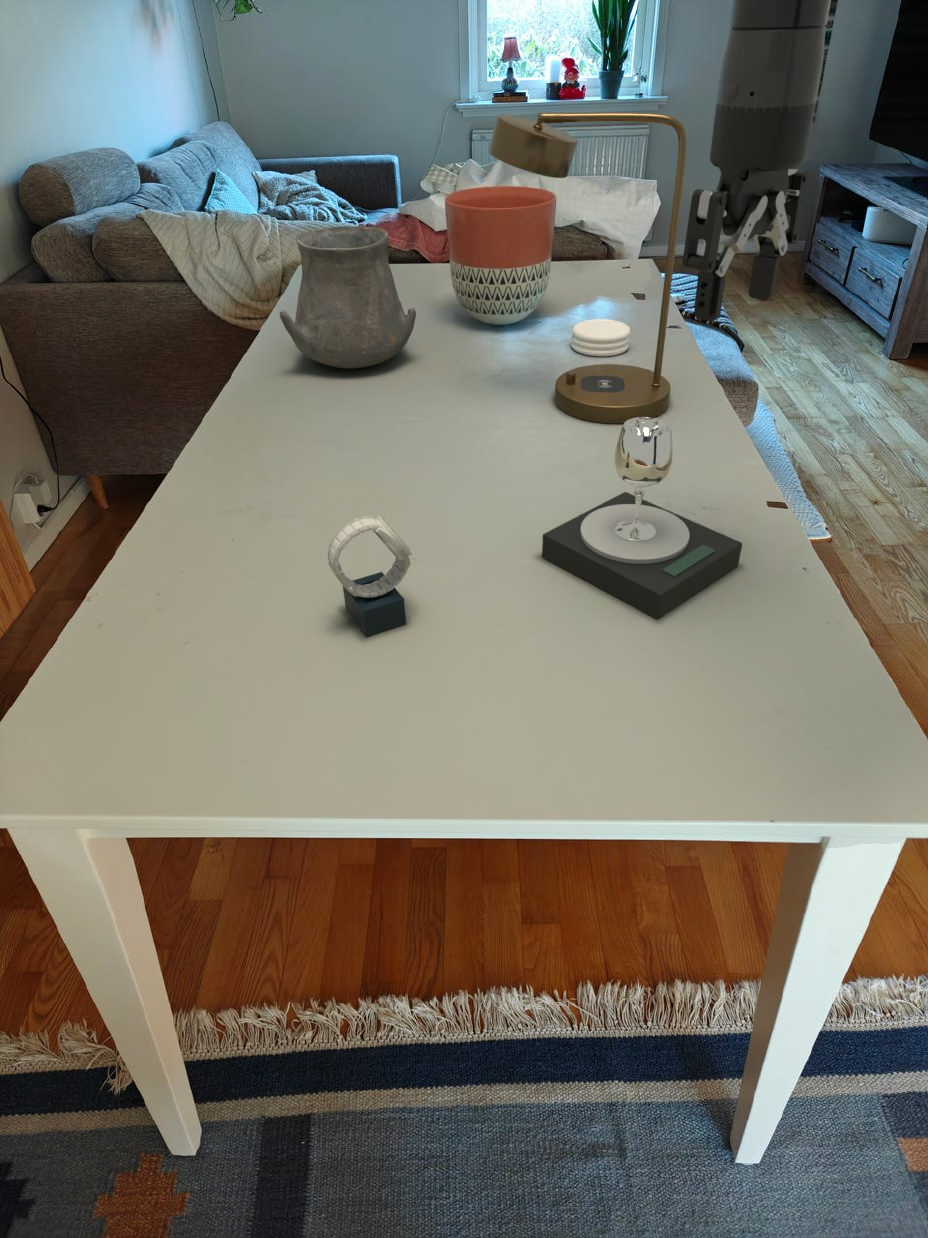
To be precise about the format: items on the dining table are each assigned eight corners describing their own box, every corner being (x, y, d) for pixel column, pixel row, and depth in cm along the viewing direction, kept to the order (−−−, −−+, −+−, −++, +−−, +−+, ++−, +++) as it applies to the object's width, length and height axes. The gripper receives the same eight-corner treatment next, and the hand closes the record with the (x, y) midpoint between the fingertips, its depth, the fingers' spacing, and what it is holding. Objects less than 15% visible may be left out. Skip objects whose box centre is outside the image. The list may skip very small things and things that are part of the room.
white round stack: (614, 361, 143) (616, 340, 140) (561, 351, 147) (562, 331, 145) (637, 343, 149) (639, 323, 147) (586, 334, 154) (587, 314, 152)
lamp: (495, 377, 138) (494, 105, 115) (664, 380, 135) (698, 102, 112) (484, 420, 124) (481, 121, 102) (672, 425, 121) (712, 119, 99)
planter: (428, 319, 163) (422, 196, 150) (506, 299, 172) (507, 181, 159) (492, 345, 150) (492, 213, 137) (573, 322, 159) (579, 196, 147)
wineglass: (604, 540, 90) (613, 435, 83) (612, 514, 95) (622, 412, 87) (659, 547, 89) (673, 441, 82) (665, 520, 93) (679, 417, 86)
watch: (423, 618, 86) (417, 523, 79) (349, 642, 83) (336, 546, 76) (400, 590, 90) (393, 498, 83) (329, 612, 87) (315, 519, 80)
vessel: (412, 332, 157) (405, 214, 145) (421, 376, 139) (414, 246, 127) (293, 339, 155) (276, 221, 143) (287, 385, 137) (267, 254, 125)
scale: (738, 566, 92) (743, 538, 90) (657, 619, 85) (661, 590, 83) (623, 513, 102) (625, 486, 100) (541, 557, 95) (542, 529, 92)
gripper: (758, 108, 61) (724, 336, 70) (856, 91, 68) (813, 299, 78) (672, 103, 65) (651, 318, 75) (772, 88, 73) (742, 284, 83)
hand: (734, 308), depth 76 cm, fingers open, 8 cm apart
